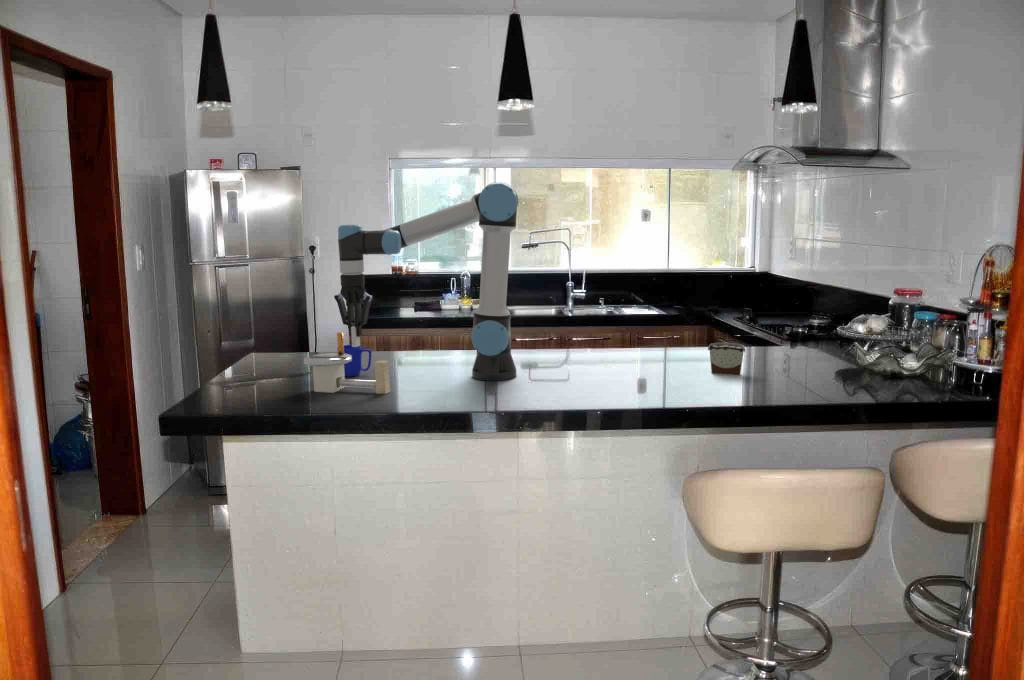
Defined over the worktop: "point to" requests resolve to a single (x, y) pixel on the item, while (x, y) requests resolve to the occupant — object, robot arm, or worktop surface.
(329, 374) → the eye block
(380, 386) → the hook rod
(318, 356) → the handwheel
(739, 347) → the food container
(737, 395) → the worktop surface
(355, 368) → the mug
